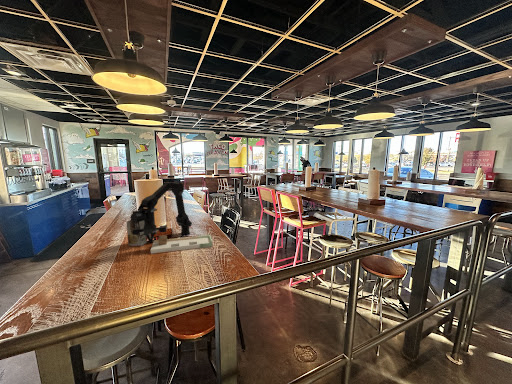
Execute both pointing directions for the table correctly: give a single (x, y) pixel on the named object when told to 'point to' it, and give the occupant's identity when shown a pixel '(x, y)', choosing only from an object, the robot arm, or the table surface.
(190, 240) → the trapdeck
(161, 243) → the block
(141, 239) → the coffee box
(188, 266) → the table surface
